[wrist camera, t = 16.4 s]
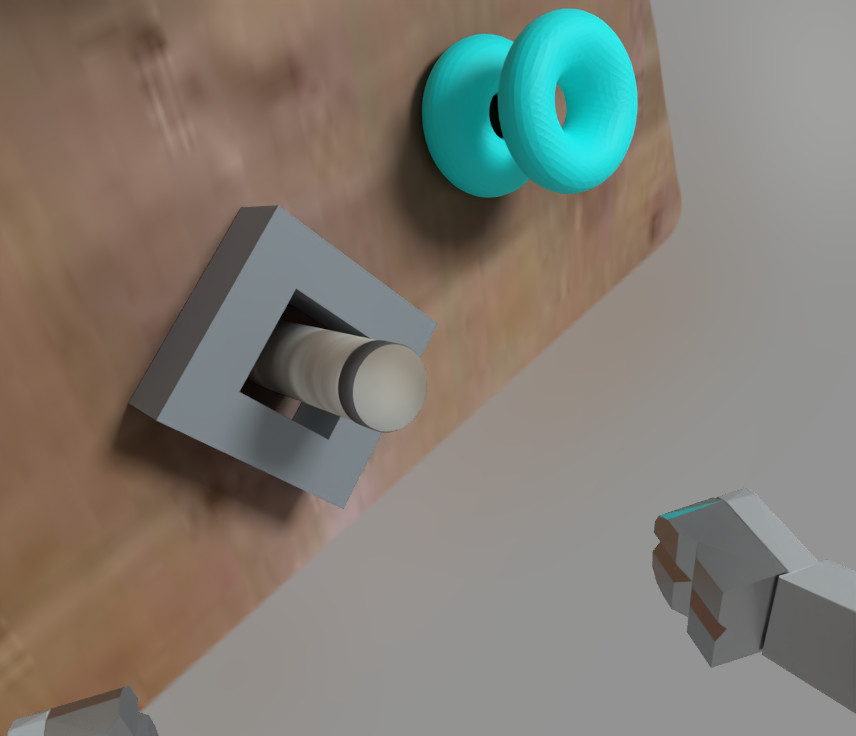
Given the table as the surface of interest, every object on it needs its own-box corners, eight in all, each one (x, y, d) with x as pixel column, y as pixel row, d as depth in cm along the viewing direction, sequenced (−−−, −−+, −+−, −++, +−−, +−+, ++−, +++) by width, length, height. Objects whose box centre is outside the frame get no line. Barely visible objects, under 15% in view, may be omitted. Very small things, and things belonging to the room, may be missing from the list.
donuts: (666, 65, 46) (616, 221, 45) (546, 89, 54) (501, 222, 53) (561, -37, 40) (501, 141, 39) (443, 7, 48) (391, 155, 47)
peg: (285, 400, 45) (402, 446, 36) (228, 368, 43) (337, 409, 33) (318, 340, 46) (441, 369, 36) (263, 305, 43) (380, 326, 34)
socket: (305, 487, 47) (343, 508, 43) (128, 403, 40) (156, 420, 36) (394, 316, 49) (437, 323, 45) (241, 207, 42) (278, 205, 38)
